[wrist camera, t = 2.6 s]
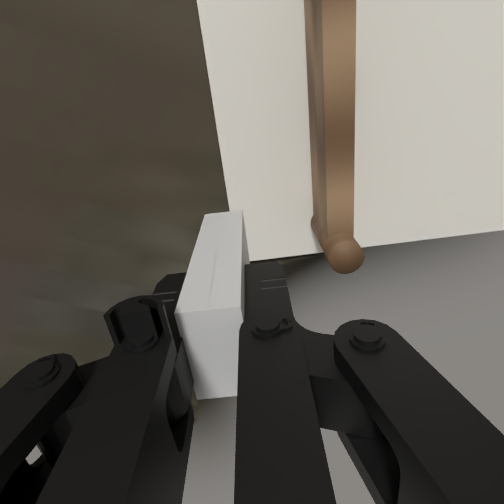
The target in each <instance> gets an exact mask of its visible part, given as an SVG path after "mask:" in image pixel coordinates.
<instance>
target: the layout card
mask: <svg viewBox="0 0 504 504" xmlns="http://www.w3.org/2000/svg"><path fill="white" fill-rule="evenodd" d="M197 5H198V12H199V18H200V24H201V31H202V37H203V43H204V50H205V56H206V63H207V69H208V75H209V82H210V88H211V94H212V101H213V107H214V114H215V120H216V126H217V133H218V139H219V145H220V152H221V158H222V164H223V171H224V177H225V184H226V190H227V196H228V203H229V209H230V211H238V210H243V217H244V224H245V231H246V238H247V245H248V253H249V260H250V261H256V260H265V259H273V258H281V257H289V256H297V255H305V254H313V253H322V252H323V250H322V248H321V246H320V244H319V242H318V240H317V238H316V236H315V234H314V232H313V230H312V228H311V218H312V216H313V197H312V175H311V152H310V129H309V107H308V84H307V61H306V38H305V16H304V0H197ZM501 230H504V0H356V74H355V163H354V238H355V240H356V241H357V243H358V244H359V245H360V247H361V248H362V247H370V246H378V245H386V244H395V243H403V242H411V241H419V240H427V239H435V238H443V237H452V236H459V235H468V234H475V233H484V232H493V231H501Z"/></svg>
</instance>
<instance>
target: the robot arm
mask: <svg viewBox="0 0 504 504" xmlns="http://www.w3.org/2000/svg"><path fill="white" fill-rule="evenodd" d="M104 319H105V321H106V324H107V327H108V329H109V332H110V334H111V337H112V340H113V342H114V347H113V349H112V351H111V353H110V355H109V356H107V357H105V358H102V359H99V360H96V361H93V362H90V363H87V364H84V365H81V366H78V365H77V363H76V361H75V359H74V358H73V357H72V356H71V355H68V354H64V353H62V354H52V355H49V356H46V357H42V358H40V359H38V360H36V361H34V362H32V363H30V364H28V365H27V366H26V367H24V368H23V369H22V370H20V371H19V372H18V373H17V374H16V375H14V376H13V377H12V378H11V379H10V380H9V381H8V382H7V383H6V384H5V385H4V386H3V387H2V388H1V389H0V504H181V503H182V497H183V490H184V483H185V477H186V470H187V463H188V457H189V450H190V443H191V437H192V430H193V424H194V410H193V407H192V403H191V396H192V391H193V386H194V390H195V394H196V397H197V400H200V399H210V398H220V397H229V396H237V418H236V419H237V420H236V454H235V488H234V491H235V492H234V504H336V500H335V495H334V491H333V486H332V481H331V477H330V472H329V468H328V463H327V458H326V454H325V449H324V444H323V440H322V435H321V430H320V428H325V429H329V430H334V431H337V432H338V435H339V437H340V439H341V441H342V443H343V445H344V447H345V448H346V450H347V452H348V454H349V456H350V458H351V459H352V461H353V463H354V465H355V466H356V468H357V470H358V472H359V474H360V476H361V478H362V479H363V481H364V483H365V485H366V487H367V489H368V490H369V492H370V494H371V496H372V498H373V500H374V501H375V503H376V504H504V435H503V434H502V433H501V432H500V431H499V430H498V429H497V428H496V427H495V426H494V425H493V424H492V423H491V422H490V421H489V420H488V419H486V418H485V417H484V416H483V415H482V414H481V413H480V412H479V411H478V410H477V409H476V408H475V407H474V406H473V405H472V404H471V403H470V402H469V401H468V400H467V399H466V398H465V397H464V396H463V395H462V394H461V393H460V392H459V391H457V389H455V388H454V387H453V386H452V385H451V384H450V383H449V382H448V381H447V380H446V379H445V378H444V377H443V376H442V375H441V374H440V373H439V372H438V371H437V370H436V369H435V368H434V367H433V366H432V365H430V363H428V362H427V361H426V360H425V359H424V358H423V357H422V356H421V355H420V354H419V353H418V352H417V351H416V350H415V349H414V348H413V347H412V346H411V345H410V344H409V343H408V342H407V341H406V340H404V338H402V336H400V335H399V334H398V333H397V332H396V331H395V330H394V329H392V328H391V327H389V326H388V325H386V324H383V323H381V322H378V321H375V320H365V319H360V320H352V321H349V322H347V323H345V324H343V325H341V326H340V327H339V328H338V329H337V330H336V331H335V335H328V334H321V333H316V332H312V331H310V330H307V329H305V328H304V327H302V326H300V325H299V324H298V323H297V322H296V320H295V318H294V316H293V312H292V307H291V302H290V297H289V292H288V288H287V284H286V279H285V273H284V269H283V267H282V266H280V265H279V264H278V263H277V262H276V261H272V262H263V263H254V264H250V260H249V253H248V245H247V238H246V231H245V224H244V217H243V210H238V211H230V212H221V213H213V214H205V216H204V219H203V222H202V226H201V229H200V232H199V235H198V238H197V242H196V245H195V248H194V251H193V254H192V258H191V261H190V264H189V267H188V270H187V272H186V273H178V274H169V275H166V276H165V277H164V278H163V279H162V280H161V281H160V282H159V283H157V285H156V288H155V290H154V292H153V295H152V296H137V297H132V298H129V299H126V300H124V301H122V302H119V303H118V304H116V305H115V306H113V307H111V308H110V309H109V310H108V311H107V312H106V313H105V314H104ZM36 445H37V446H38V448H39V450H40V451H41V453H42V455H41V456H40V457H39V458H38V459H37V460H36V461H35V462H34V463H33V464H31V465H29V464H28V462H27V461H26V459H25V458H26V457H27V456H28V455H29V453H30V452H31V451H32V449H33V448H34V447H35V446H36Z"/></svg>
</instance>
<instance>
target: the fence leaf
mask: <svg viewBox="0 0 504 504" xmlns="http://www.w3.org/2000/svg"><path fill="white" fill-rule="evenodd" d="M304 16H305V38H306V61H307V84H308V107H309V129H310V152H311V175H312V197H313V216H312V218H311V228H312V230H313V232H314V234H315V236H316V238H317V240H318V242H319V244H320V246H321V248H322V250H323V252H324V254H325V256H326V258H327V260H328V262H329V263H330V266H331V267H332V268H333V270H334V271H336V272H338V273H341V274H348V273H352V272H354V271H356V270H357V269H358V268H359V267H360V266H361V265H362V263H363V261H364V251H363V249H362V248H361V247H360V245H359V244H358V243H357V241H356V240H355V238H354V163H355V74H356V0H304Z"/></svg>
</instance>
